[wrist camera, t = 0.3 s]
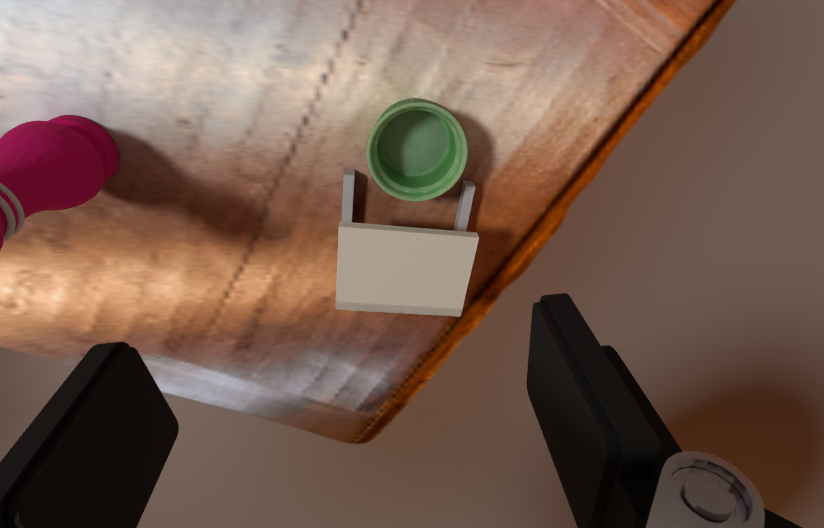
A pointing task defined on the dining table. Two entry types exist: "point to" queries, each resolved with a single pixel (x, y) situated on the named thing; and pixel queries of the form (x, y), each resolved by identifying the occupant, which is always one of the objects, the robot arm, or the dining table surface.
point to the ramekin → (417, 150)
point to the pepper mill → (51, 168)
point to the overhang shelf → (404, 262)
